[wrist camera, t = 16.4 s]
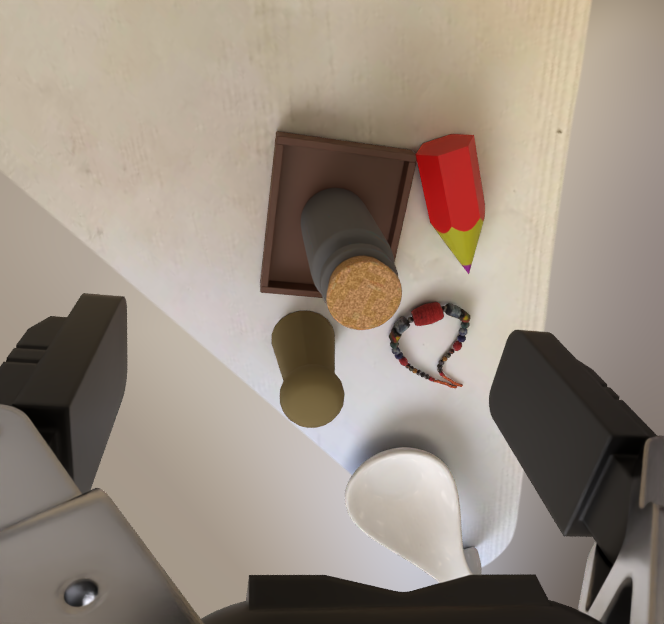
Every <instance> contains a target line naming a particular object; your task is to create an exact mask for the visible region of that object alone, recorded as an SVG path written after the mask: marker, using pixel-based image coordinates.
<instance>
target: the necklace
mask: <svg viewBox="0 0 664 624" xmlns="http://www.w3.org/2000/svg"><path fill="white" fill-rule="evenodd" d="M443 312H445V313H446V314H447V315H449V316H452V317H455V318H458V319H460V320H461V321H462V322H461V327H462V328H460V330H459V334H460V335H458V337H457V339H458V341H456V342H455V343H454V344H453V349H450V350H449V353H446V356H443V357H442V360H440V361H439V364H438V365H437V367H438V369H437V371H438V372H439V374H440V376H442V377H443V378H445V379H446V380H448V381H450V382H451V383H452V384H454V385H457V386H460V387H462V386H463V385H462V384H458V383H456V382H454V381H453V380H451V379H450V378H448V377H446V376H445V375H444V373H443V372H442V365H443V364H444V361H447V358H449V357H450V356H451V354H453V353H454V350H455V351H458V350H460V349H461V347H462V343H461V342H464V341H465V340H466V337H465V335H466V334H467V329H466V328H468V327H469V321H470V315H469V314H468V313H467V312H466V311H464V310H463V309H460V307H458V306H456V305H453V304H451V303H448V304H446V305H445V306H442V307H441V305H440V303H438V302H434V303H428V304H424V305H422V306H420V307H417V308H415V309H414V310H412V311H411V314H412V317H408V319H406V318H405V317H401V318H400V319H399V320H397V321H396V322H395V323H394V328H393V329H392V331H391V333H390V335H389V338H390V340H391V343H390V346H391V347H392V348H393V349H392V353H393V354H395V358H396V359H399V362H400V363H401V365H403V366H405V367H406V368H409V370H410V371H412V372H413V373H416V374H417V375H421V377H425V379H429V380H430V381H433V382H438V383H440V384H445V385H447V386H449V387H451V388H457V386H454V385H451V384H449V383H446V382H443V381H440V380H435V378H432V377H430V376H429V375H428V374H426V375H425V373H424V372H422V373H421V371H420V370H417V369H416V368H414V367H413V366H410V364H409V363H408V361H407V359H406V358H405V357H404V356H403V353H402V352H400V349H399V347H398V345H399V343H398V341H399V339H400V337H401V335H402V333H403V332H404V331H405V330H406V329H407V328H408V327H409V326H410V324H409V323H412V322H413V321H414V323H415V325H416V326H422V325H428V324H432V323H435V322H437V321H439V320H441V319H442V318H443V317H444V314H443Z"/></svg>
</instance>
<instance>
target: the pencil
mask: <svg viewBox="0 0 664 624" xmlns="http://www.w3.org/2000/svg"><path fill="white" fill-rule="evenodd" d="M416 159H417V163H418V168H419V173H420V177H421V182H422V187H423V191H424V196H425V201H426V205H427V210H428V215H429V219H430V223H431V224H432V226H433V227H434V228H435V230H436V231H437V232H438V234H439V235H440V236H441V238H442V239H443V240H444V242H445V243H446V244H447V246H448V247H449V248H450V250H451V251H452V252H453V254H454V255H455V256H456V258H457V259H458V260H459V262H460V263H461V265H462V266H463V267H464V269H465V270H466V271H467V273H468V274H469V272H470V268H471V265H472V261H473V257H474V254H475V250H476V247H477V243H478V239H479V236H480V232H481V229H482V225H483V221H484V217H485V202H484V196H483V190H482V183H481V177H480V171H479V164H478V158H477V152H476V145H475V139H474V135H462V134H450V135H447V136H444V137H441V138H438V139H435V140H432V141H429V142H426V143H423V144H422V145H421V147H420V148H419V150H418V151H417V153H416Z"/></svg>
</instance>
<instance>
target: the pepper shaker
mask: <svg viewBox="0 0 664 624" xmlns="http://www.w3.org/2000/svg"><path fill="white" fill-rule="evenodd" d="M272 346H273V349H274V352H275V355H276V359H277V362H278V365H279V368H280V371H281V374H282V377H283V384H282V386H281V389H280V404H281V407H282V409H283V412H284V414H285V415H286V416H287V417H288V418H289V419H290V420H291V421H292V422H294V423H296V424H298V425H299V426H303V427H307V428H316V427H320V426H323V425H326V424H327V423H329V422H331V421H332V420H333V419H334V418H335V417H336V416H337V415H338V414H339V413H340V411H341V409H342V407H343V402H344V390H343V386H342V383H341V381H340V379H339V378H338V377H337V375H336V374H335V334H334V330H333V327H332V325H331V324H330V322H329V321H328V320H327V319H326V318H325V317H323V316H322V315H320V314H318V313H315V312H312V311H297V312H294V313H290V314H288V315H287V316H285V317H284V318H282V319H281V320H280V321H279V322H278V323H277V325H276V326H275V328H274V330H273V333H272Z"/></svg>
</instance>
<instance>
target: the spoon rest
mask: <svg viewBox="0 0 664 624" xmlns="http://www.w3.org/2000/svg"><path fill="white" fill-rule="evenodd" d="M345 504H346V508H347V511H348V513H349V515H350V517H351V519H352V520H353V522H354V523H355V524H356V525H357V526H358V527H359V528H360V529H361V530H362V531H363V532H364V533H365V534H367V535H368V536H369V537H371V538H372V539H374V540H375V541H376V542H378V543H380V544H381V545H383V546H385V547H386V548H388V549H389V550H391V551H393V552H394V553H396V554H398V555H399V556H401V557H403V558H404V559H406V560H407V561H409V562H410V563H412V564H414V565H415V566H417V567H418V568H420V569H421V570H423V571H424V572H426V573H427V574H428V575H430V576H431V577H433V578H434V579H435V580H437V581H438V582H439V583H442V582H446V581H449V580H453V579H456V578H460V577H464V576H467V575H481V562H480V558H479V554H478V551H477V549H476V548H474V547H470V548H467V549H464V550H463V543H462V530H461V515H460V504H459V497H458V491H457V487H456V483H455V480H454V478H453V475H452V473H451V472H450V470H449V468H448V467H447V466H446V464H445V463H444V462H443V461H442V460H440V459H439V458H437V457H436V456H434V455H433V454H431V453H429V452H426V451H424V450H420V449H416V448H409V447H400V448H393V449H389V450H385V451H382V452H380V453H378V454H376V455H374V456H372V457H371V458H369V459H368V460H366V461H365V462H364V463H363V464H362V465H361V466H360V467H359V468H358V469H357V470H356V471H355V472H354V474H353V475H352V476H351V478H350V480H349V482H348V484H347V487H346V490H345Z"/></svg>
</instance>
